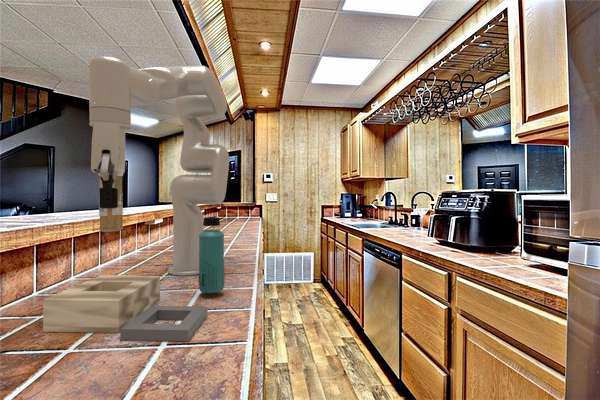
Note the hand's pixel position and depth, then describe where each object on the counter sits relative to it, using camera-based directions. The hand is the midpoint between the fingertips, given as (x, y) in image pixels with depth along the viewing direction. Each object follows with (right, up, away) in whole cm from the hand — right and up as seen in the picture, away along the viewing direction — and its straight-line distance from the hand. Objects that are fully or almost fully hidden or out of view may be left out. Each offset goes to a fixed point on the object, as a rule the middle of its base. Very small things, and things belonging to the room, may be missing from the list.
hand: (111, 206), depth 70 cm
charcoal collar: (+14, -23, -5) cm, 28 cm away
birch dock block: (-1, -23, +1) cm, 23 cm away
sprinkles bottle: (0, -5, 0) cm, 5 cm away
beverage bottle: (+17, -23, +15) cm, 32 cm away
